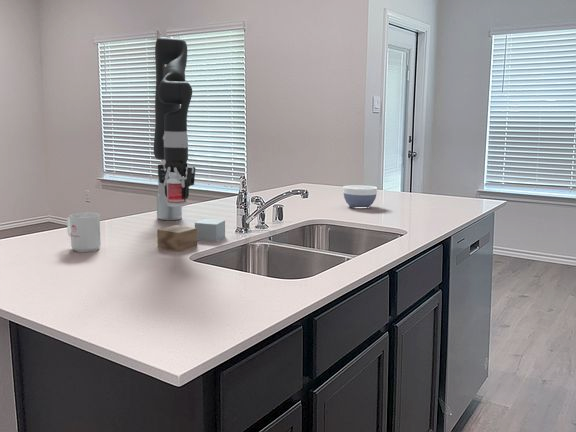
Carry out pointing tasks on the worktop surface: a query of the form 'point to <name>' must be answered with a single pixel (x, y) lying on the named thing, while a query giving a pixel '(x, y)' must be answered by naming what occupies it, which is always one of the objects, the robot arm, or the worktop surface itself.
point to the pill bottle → (174, 191)
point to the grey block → (210, 230)
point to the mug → (84, 231)
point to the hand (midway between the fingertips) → (176, 197)
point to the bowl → (359, 195)
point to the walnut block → (177, 238)
